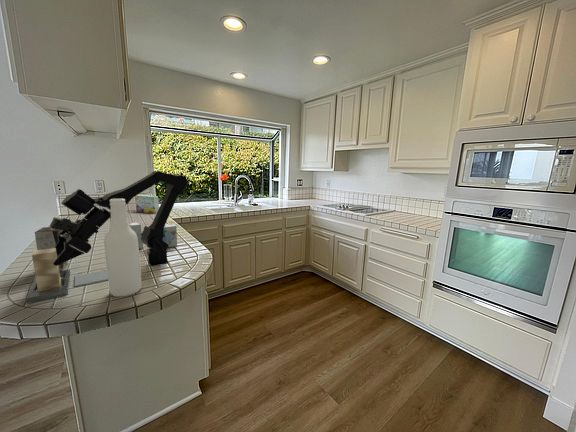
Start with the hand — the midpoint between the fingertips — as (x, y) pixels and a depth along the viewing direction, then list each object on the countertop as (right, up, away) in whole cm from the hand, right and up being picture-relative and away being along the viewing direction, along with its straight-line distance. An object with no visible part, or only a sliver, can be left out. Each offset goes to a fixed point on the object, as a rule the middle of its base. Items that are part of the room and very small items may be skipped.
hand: (52, 261), depth 80 cm
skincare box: (0, -1, +45) cm, 45 cm away
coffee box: (-14, -6, +17) cm, 23 cm away
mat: (+5, -8, +10) cm, 14 cm away
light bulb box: (+12, -1, +48) cm, 50 cm away
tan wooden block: (-1, -9, +1) cm, 9 cm away
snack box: (-49, +18, +141) cm, 150 cm away
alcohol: (+23, -10, +1) cm, 25 cm away
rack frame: (-2, -9, +2) cm, 10 cm away
